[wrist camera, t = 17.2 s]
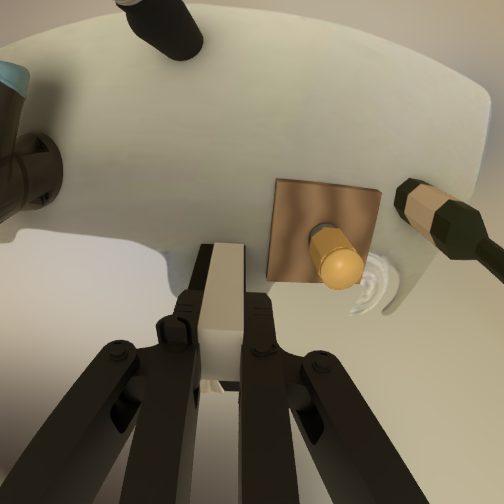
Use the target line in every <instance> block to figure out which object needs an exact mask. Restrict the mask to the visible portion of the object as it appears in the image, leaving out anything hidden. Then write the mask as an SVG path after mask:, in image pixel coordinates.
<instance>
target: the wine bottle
mask: <svg viewBox="0 0 504 504" xmlns="http://www.w3.org/2000/svg"><path fill="white" fill-rule="evenodd" d="M114 1H115V2H116V5H117V6H118V7H119V8H121V9H122V10H123V11H124V12H126V17H127V21H128V23H129V25H130V27H131V29H132V30H133V32H134V33H135V34H136V35H137V36H138V37H139V38H141V39H142V40H144V41H146V42H147V43H149V44H150V45H152V46H153V47H155V48H156V49H157V50H159V51H160V52H162V53H163V54H165V55H166V56H168V57H169V58H171V59H173V60H178V61H183V60H188V59H190V58H193V57H194V56H195V55H196V54H198V52H199V51H200V50H201V48H202V45H203V36H202V34H201V32H200V30H199V28H198V27H197V25H196V23H195V21H194V20H193V18H192V16H191V14H190V13H189V11H188V9H187V7H186V6H185V4H184V2H183V1H182V0H114Z"/></svg>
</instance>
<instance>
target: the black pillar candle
mask: <svg viewBox="0 0 504 504" xmlns="http://www.w3.org/2000/svg"><path fill="white" fill-rule="evenodd" d="M213 248H214V244H201V246H200V250H199V253H198V256H197V259H196V263H195V266H194V269H193V273H192V276H191V280H190V283H189V286H188V290H201V291H205V286H206V281H207V277H208V272H209V267H210V262H211V257H212V253H213ZM244 292H246V276H245V246H244ZM211 391H213V392H217V393H224V392H225V391H239V381H218V380H203V379H201V377H200V392H201V393H209V392H211Z"/></svg>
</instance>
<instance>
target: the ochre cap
mask: <svg viewBox="0 0 504 504" xmlns="http://www.w3.org/2000/svg"><path fill="white" fill-rule="evenodd" d="M309 253H310V256H311V258H312V261H313V263H314V265H315V268H316V270H317V272H318V275H319V276H320V277H321V278H322V280H323V282H324V283H325V285H326V286H328V287H329V288H331V289H335V290H342V289H346V288H349V287H351V286H352V285H354V284H355V283H356V282H357V281H358V280H359V279H360V277H361V276H362V273H363V269H364V264H363V260H362V258H361V257H360V256H359V254H358V253H357V251H356V250H355V249H354V247H353V246H352V244H351V243H350V242H349V240H348V239H347V238H346V236H345V235H344V234H343V232H342V231H341V230H340V228H328V227H324V228H323V229H321V230H320V231H319V232H317V233H316V234H315V235H314V236H312V237H311V242H310V248H309Z"/></svg>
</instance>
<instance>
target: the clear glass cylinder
mask: <svg viewBox="0 0 504 504" xmlns="http://www.w3.org/2000/svg"><path fill="white" fill-rule="evenodd" d="M324 227H328V228H337V227H336V226H335V225H333V224H331V223H320V224H318V225H316V226H315V227H314V228H313V229H312V230H311V232H310V234H309V238H308V241H309V245H310V242H311V237H312V236H314V235H315V234H316V233H317V232H319V231H320V230H321V229H323V228H324Z"/></svg>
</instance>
